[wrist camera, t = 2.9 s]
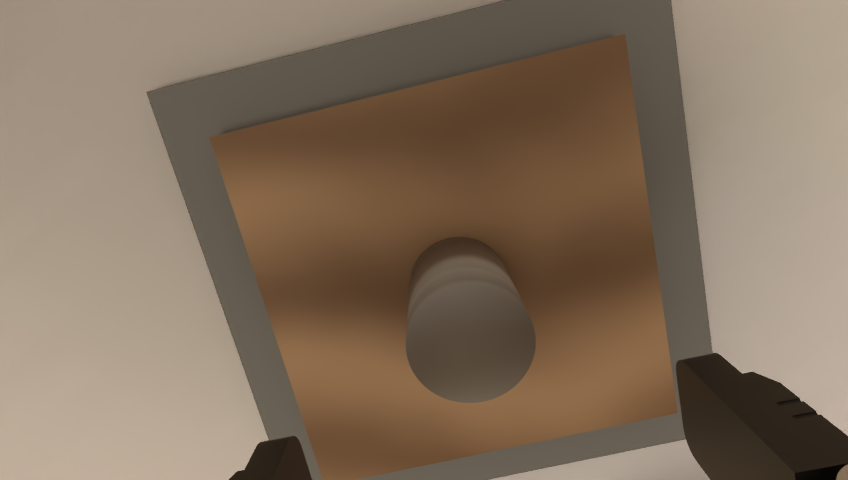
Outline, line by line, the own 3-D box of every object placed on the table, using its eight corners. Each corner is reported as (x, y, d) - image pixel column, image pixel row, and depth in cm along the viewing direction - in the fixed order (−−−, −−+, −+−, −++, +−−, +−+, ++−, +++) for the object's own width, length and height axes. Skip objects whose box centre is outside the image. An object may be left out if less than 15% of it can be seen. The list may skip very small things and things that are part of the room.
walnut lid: (219, 135, 19) (131, 150, 13) (614, 37, 18) (703, 7, 12) (329, 469, 22) (296, 597, 17) (666, 399, 22) (755, 508, 16)
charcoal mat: (154, 92, 19) (146, 92, 19) (658, -37, 18) (666, -41, 18) (299, 508, 24) (296, 518, 23) (714, 423, 23) (721, 431, 22)
